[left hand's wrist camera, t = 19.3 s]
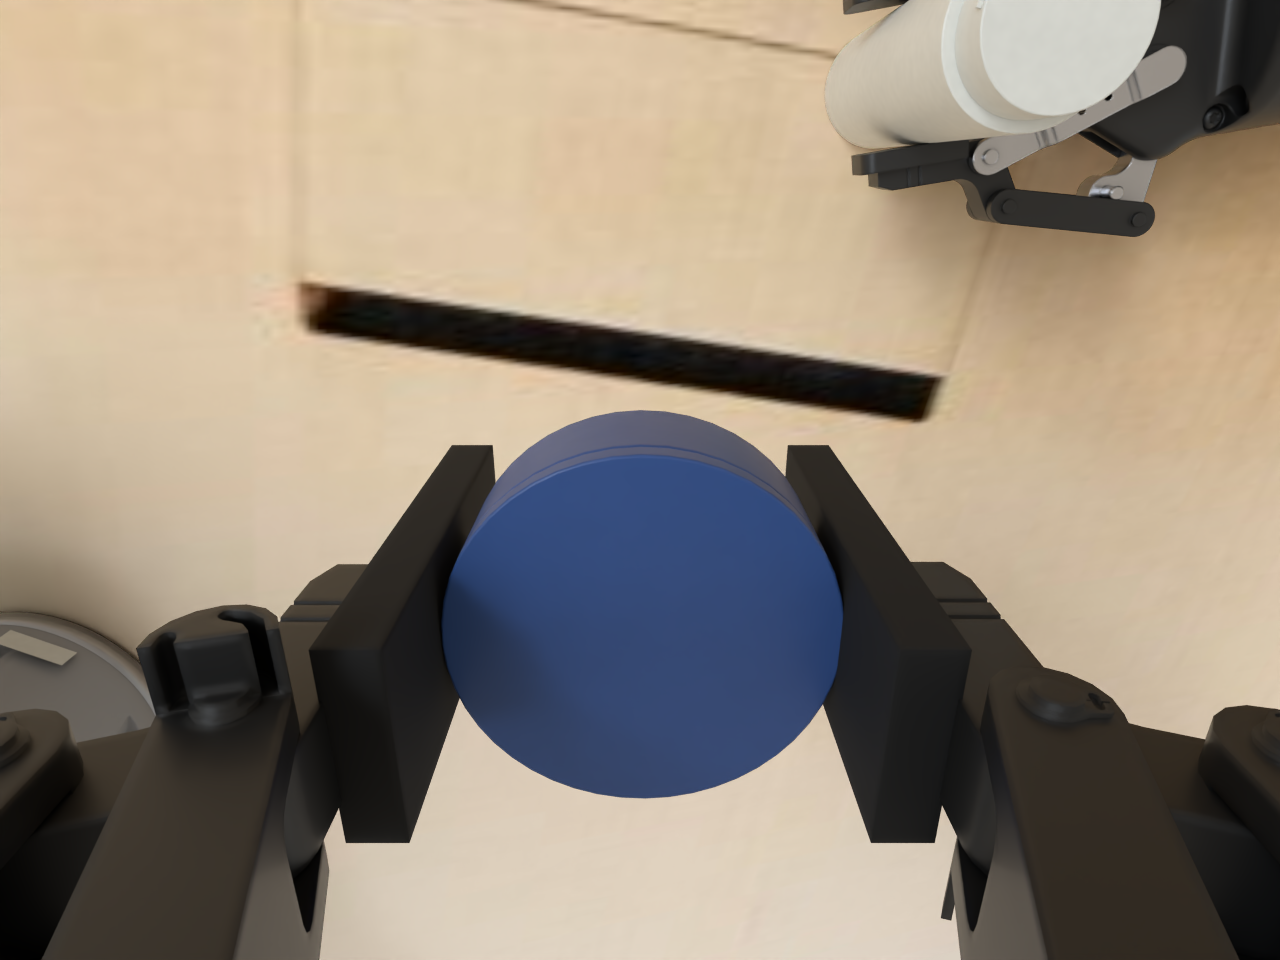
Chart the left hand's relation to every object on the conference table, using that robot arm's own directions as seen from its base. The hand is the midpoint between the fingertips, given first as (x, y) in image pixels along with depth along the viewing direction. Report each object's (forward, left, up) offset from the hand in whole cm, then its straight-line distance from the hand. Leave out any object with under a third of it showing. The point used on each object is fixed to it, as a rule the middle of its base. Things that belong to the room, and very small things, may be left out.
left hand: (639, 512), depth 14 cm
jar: (+14, 0, -24) cm, 28 cm away
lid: (0, 0, +4) cm, 4 cm away
